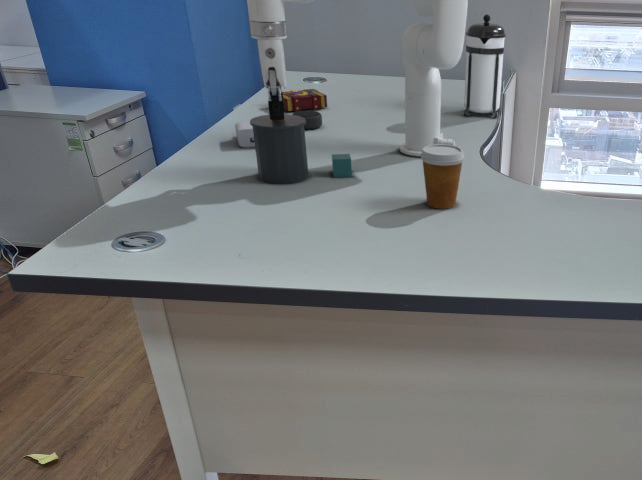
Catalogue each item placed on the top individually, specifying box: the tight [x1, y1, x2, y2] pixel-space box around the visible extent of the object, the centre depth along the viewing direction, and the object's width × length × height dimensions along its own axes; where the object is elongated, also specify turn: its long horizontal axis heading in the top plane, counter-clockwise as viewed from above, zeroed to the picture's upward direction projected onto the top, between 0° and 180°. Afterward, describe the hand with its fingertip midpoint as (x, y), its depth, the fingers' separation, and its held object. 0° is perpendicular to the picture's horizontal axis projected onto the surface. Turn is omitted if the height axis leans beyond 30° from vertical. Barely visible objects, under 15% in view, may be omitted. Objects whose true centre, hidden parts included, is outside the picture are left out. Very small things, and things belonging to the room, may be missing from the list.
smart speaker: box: [291, 109, 323, 130], centre depth 198 cm, size 9×9×4 cm
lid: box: [249, 97, 306, 130], centre depth 150 cm, size 13×13×6 cm
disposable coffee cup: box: [420, 144, 466, 210], centre depth 142 cm, size 10×10×12 cm
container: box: [253, 125, 309, 185], centre depth 155 cm, size 12×12×12 cm
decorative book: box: [282, 88, 328, 112], centre depth 219 cm, size 11×16×5 cm
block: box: [331, 153, 353, 178], centre depth 160 cm, size 4×4×4 cm
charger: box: [234, 121, 255, 148], centre depth 183 cm, size 5×9×15 cm
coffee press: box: [463, 14, 507, 119], centre depth 214 cm, size 17×16×30 cm
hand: (277, 114), depth 150 cm, fingers open, 7 cm apart
